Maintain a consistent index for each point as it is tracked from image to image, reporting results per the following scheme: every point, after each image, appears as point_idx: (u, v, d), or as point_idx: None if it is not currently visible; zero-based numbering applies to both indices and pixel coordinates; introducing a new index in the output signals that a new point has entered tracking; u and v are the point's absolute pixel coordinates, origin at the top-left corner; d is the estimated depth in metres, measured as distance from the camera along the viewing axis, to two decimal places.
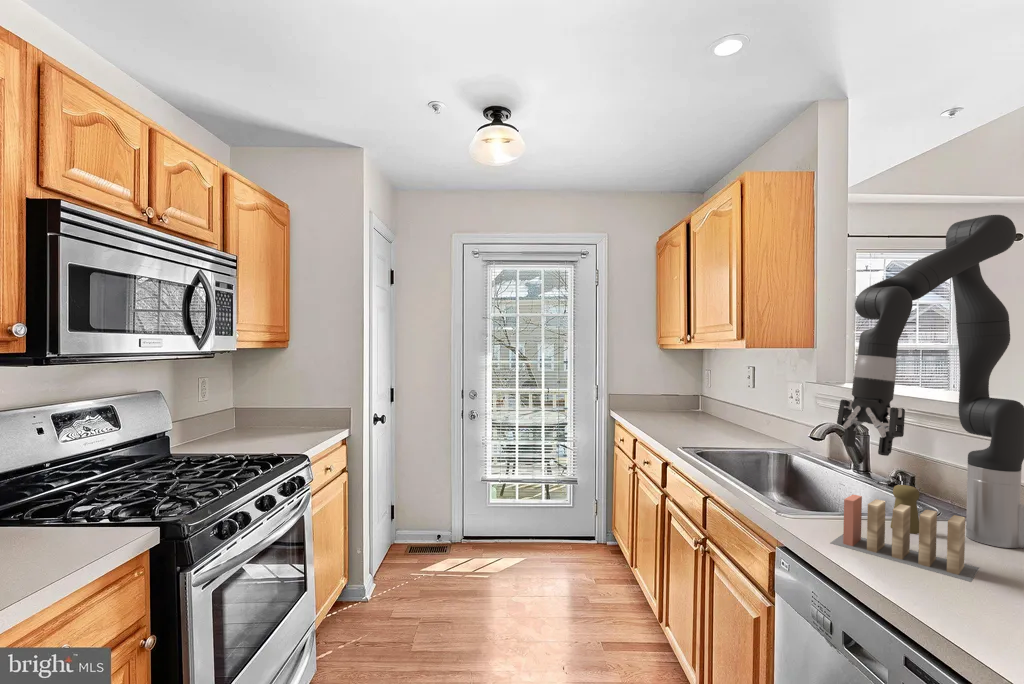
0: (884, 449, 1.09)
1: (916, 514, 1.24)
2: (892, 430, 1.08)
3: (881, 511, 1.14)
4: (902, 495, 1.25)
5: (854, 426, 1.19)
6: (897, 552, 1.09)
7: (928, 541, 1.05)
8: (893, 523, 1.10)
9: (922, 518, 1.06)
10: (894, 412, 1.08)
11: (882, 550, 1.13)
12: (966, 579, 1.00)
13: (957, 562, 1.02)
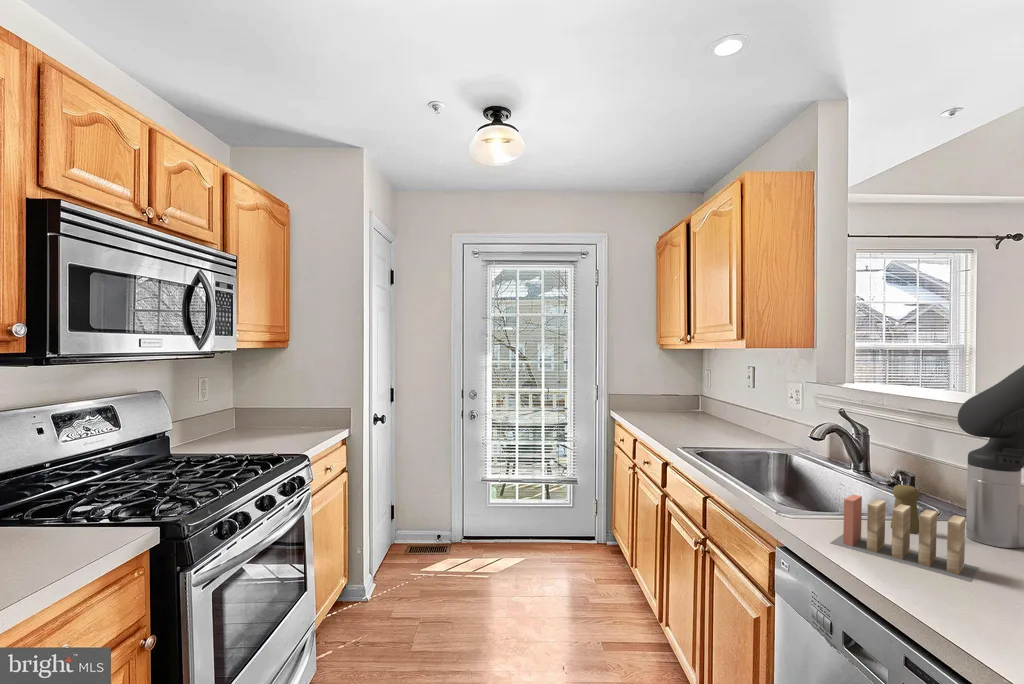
0: None
1: (916, 514, 1.24)
2: None
3: (881, 511, 1.14)
4: (902, 495, 1.25)
5: None
6: (897, 552, 1.09)
7: (928, 541, 1.05)
8: (893, 523, 1.10)
9: (922, 518, 1.06)
10: None
11: (882, 550, 1.13)
12: (966, 579, 1.00)
13: (957, 562, 1.02)
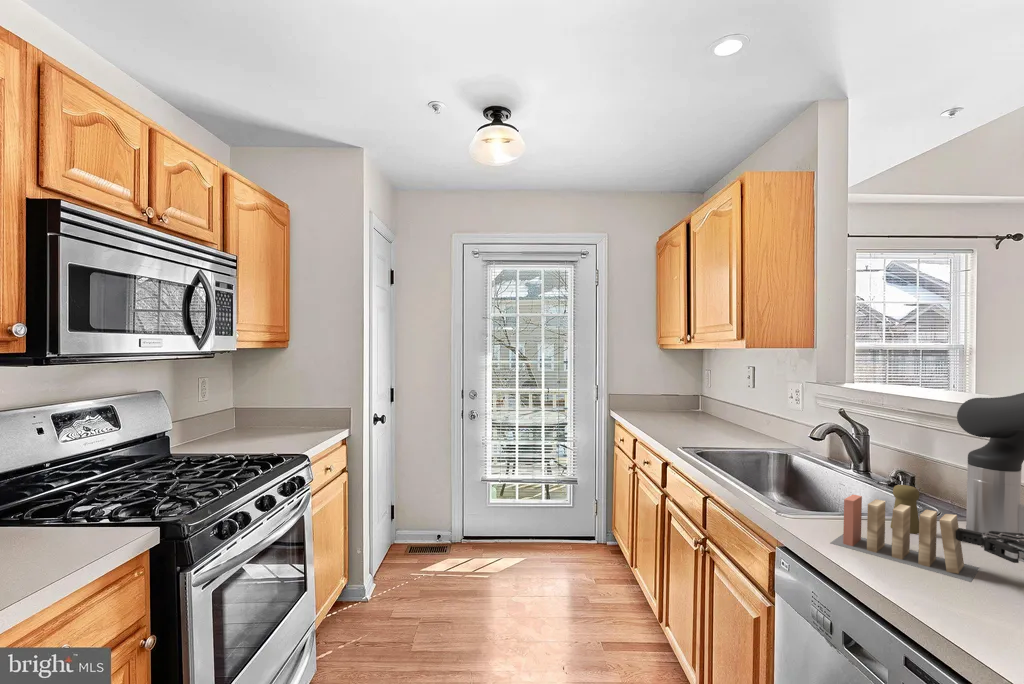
0: None
1: (916, 514, 1.24)
2: None
3: (881, 511, 1.14)
4: (902, 495, 1.25)
5: None
6: (897, 552, 1.09)
7: (928, 541, 1.05)
8: (893, 523, 1.10)
9: (922, 518, 1.06)
10: None
11: (882, 550, 1.13)
12: (966, 579, 1.00)
13: (955, 560, 1.02)
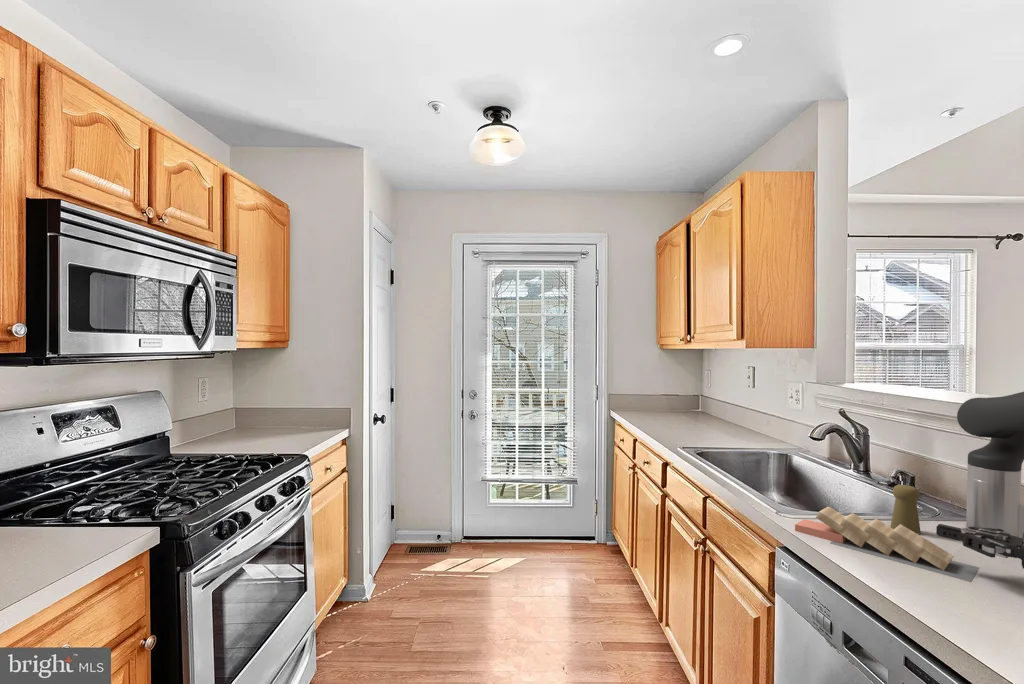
0: None
1: (916, 514, 1.24)
2: None
3: (831, 513, 1.21)
4: (902, 495, 1.25)
5: None
6: (884, 548, 1.11)
7: (892, 540, 1.10)
8: (853, 532, 1.15)
9: (867, 530, 1.13)
10: None
11: None
12: (966, 579, 1.00)
13: (934, 556, 1.04)
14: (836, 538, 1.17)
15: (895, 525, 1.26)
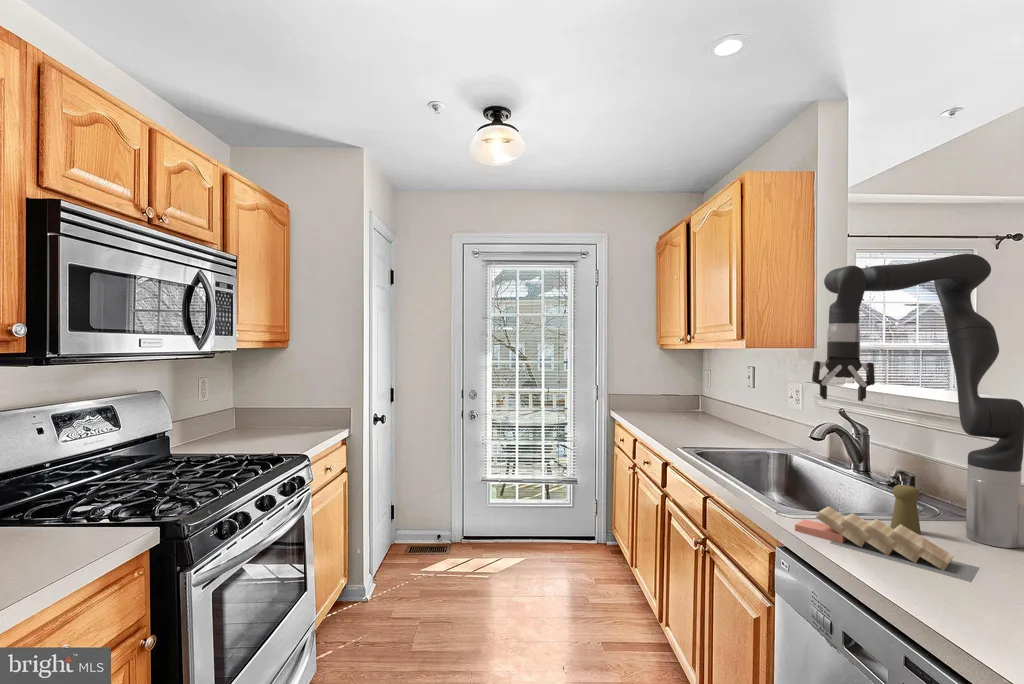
0: (864, 395, 1.39)
1: (916, 514, 1.24)
2: (873, 380, 1.38)
3: (831, 513, 1.21)
4: (902, 495, 1.25)
5: None
6: (884, 548, 1.11)
7: (892, 540, 1.10)
8: (853, 532, 1.15)
9: (867, 530, 1.13)
10: (872, 366, 1.38)
11: None
12: (966, 579, 1.00)
13: (934, 556, 1.04)
14: (836, 538, 1.17)
15: (895, 525, 1.26)
